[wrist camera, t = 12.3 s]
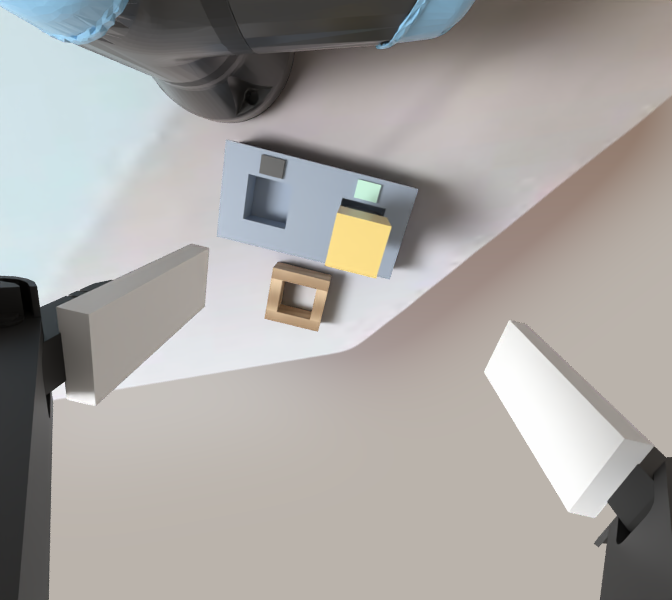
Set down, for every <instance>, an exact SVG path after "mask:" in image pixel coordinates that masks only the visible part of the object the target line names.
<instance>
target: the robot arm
mask: <svg viewBox="0 0 672 600" xmlns="http://www.w3.org/2000/svg"><path fill="white" fill-rule="evenodd" d="M474 2H475V0H0V6H1V7H2V8H4V9H6V10H7V11H9V12H11V13H13V14H14V15H16V16H18V17H20V18H21V19H23V20H25V21H27V22H28V23H30V24H32V25H34V26H35V27H37V28H39V29H40V30H41V31H42V32H44V33H47V34H48V35H50V36H51V37H53V38H55V39H58V40H60V41H62V42H68V43H73V44H76V45H78V46H81V47H83V48H85V49H88V50H90V51H93V52H95V53H97V54H100V55H102V56H105V57H107V58H109V59H112V60H114V61H117V62H119V63H121V64H124V65H126V66H129V67H131V68H133V69H136V70H138V71H141V72H143V73H145V74H148V75H150V76H152V77H153V78H154V80H155V81H156V82H157V84H158V85H159V86H160V88H161V89H162V90H163V91H164V92H165V93H166V94H167V95H168V96H169V97H170V98H171V99H172V100H173V101H174V102H176V103H177V104H178V105H180V106H181V107H182V108H184V109H185V110H187V111H189V112H191V113H193V114H195V115H197V116H200V117H203V118H206V119H209V120H212V121H216V122H223V123H235V122H241V121H245V120H248V119H251V118H253V117H255V116H257V115H259V114H260V113H262V112H263V111H265V110H266V109H267V108H268V107H269V106H270V105H271V104H272V103H273V102H274V101H275V100H276V99H277V97H278V96H279V95H280V93H281V91H282V90H283V88H284V86H285V84H286V82H287V80H288V77H289V74H290V71H291V68H292V64H293V58H294V51H308V50H321V49H335V48H349V47H362V46H376V48H377V49H386V48H390V47H391V46H393V45H395V44H396V43H403V42H411V41H419V40H427V39H433V38H436V37H438V36H441V35H443V34H445V33H446V32H448V31H449V30H450V29H451V28H452V27H453V26H454V25H455V24H456V23H457V22H459V21H460V20H461V19H462V18H463V17H464V16H465V14H466V13H467V12H468V10H469V9H470V8H471V6H472V5H473V3H474ZM208 257H209V248H207V247H203V246H199V245H194V244H190V245H187V246H185V247H183V248H181V249H179V250H177V251H175V252H173V253H170V254H168V255H166V256H164V257H162V258H160V259H158V260H155V261H153V262H151V263H149V264H147V265H145V266H143V267H140V268H138V269H136V270H134V271H132V272H130V273H128V274H125V275H123V276H121V277H119V278H117V279H115V280H108V281H104V282H99V283H94V284H92V285H89V286H87V287H85V288H83V289H80V291H76V292H74V293H71V294H69V296H65V297H62V298H60V299H58V300H56V301H53V302H51V303H49V304H47V305H44V306H42V307H40V305H39V297H38V290H37V285H36V284H35V282H33V281H31V280H29V279H26V278H21V277H14V276H0V600H49V561H50V514H51V469H52V424H53V423H52V422H53V398H52V391H53V390H54V389H55V388H57V387H58V386H59V385H61V384H62V383H63V382H65V387H66V396H67V400H71V401H76V402H80V403H85V404H89V405H94V406H96V405H97V404H98V403H99V402H101V400H103V399H104V398H105V397H106V396H107V395H108V394H109V393H110V392H112V391H113V390H114V389H115V388H116V387H117V386H118V385H119V384H120V383H121V382H122V381H124V380H125V379H126V378H127V377H128V376H129V375H130V374H131V373H132V372H133V371H135V370H136V369H137V368H138V367H139V366H140V365H141V364H142V363H143V362H144V361H145V360H147V359H148V358H149V357H150V356H151V355H152V354H153V353H154V352H155V351H156V350H158V349H159V348H160V347H161V346H162V345H163V344H164V343H165V342H166V341H167V340H168V339H170V338H171V337H172V336H173V335H174V334H175V333H176V332H177V331H178V330H179V329H181V328H182V327H183V326H184V325H185V324H186V323H187V322H188V321H189V320H190V319H191V318H193V317H194V316H195V315H196V314H197V313H198V312H199V311H200V310H201V309H202V308H204V307H205V296H206V283H207V270H208ZM484 373H485V375H486V376H487V378H488V380H489V381H490V383H491V384H492V386H493V388H494V389H495V391H496V393H497V394H498V396H499V398H500V399H501V401H502V403H503V404H504V406H505V408H506V409H507V411H508V412H509V414H510V416H511V417H512V419H513V421H514V423H515V424H516V426H517V428H518V429H519V431H520V433H521V434H522V436H523V438H524V439H525V441H526V442H527V444H528V446H529V447H530V449H531V451H532V452H533V454H534V456H535V457H536V459H537V461H538V462H539V464H540V466H541V467H542V469H543V470H544V472H545V474H546V476H547V477H548V479H549V480H550V482H551V484H552V486H553V487H554V489H555V490H556V492H557V494H558V496H559V497H560V499H561V500H562V502H563V504H564V505H565V507H566V509H567V510H568V512H570V513H574V514H579V515H583V516H588V517H592V518H595V517H596V516H597V515H598V514H599V513H600V511H601V510H602V509H603V508H604V507H605V505H606V504H607V503H609V505H610V506H611V508H612V509H613V510H614V512H615V513H616V514H617V517H616V518H615V519H614V520H613V521H612V522H611V523H610V525H609V526H608V527H607V528H606V529H605V530H604V532H603V533H602V534H601V535H600V536H599V537H598V539H597V540H596V541H595V543H594V544H595V545H597V546H598V547H599V546H600V545H601V544H602V543H607V547H606V556H605V563H604V571H603V580H602V588H601V597H600V600H672V457H667V458H666V457H665V456H664V455H663V454H662V453H661V452H660V451H659V450H658V449H657V448H655V447H654V445H653V444H652V443H651V442H650V441H649V440H648V439H647V438H646V437H645V436H644V435H643V434H642V433H641V432H640V431H639V430H638V429H637V428H635V427H634V426H633V425H632V424H631V423H630V422H629V421H628V420H627V419H626V418H625V417H624V416H623V415H622V414H621V413H620V412H619V411H617V410H616V409H615V408H614V407H613V406H612V405H611V404H610V403H609V402H608V401H607V400H606V399H605V398H604V397H603V396H602V395H601V394H600V393H599V392H597V390H595V389H594V388H593V387H592V386H591V385H590V384H589V383H588V382H587V381H586V380H585V379H584V378H583V377H582V376H581V375H579V374H578V372H576V371H575V370H574V369H573V368H572V367H571V366H570V365H569V364H568V363H567V362H566V361H565V360H564V359H563V358H562V357H561V356H560V355H559V354H558V353H557V352H555V351H554V350H553V349H552V348H551V347H550V346H549V345H548V344H547V343H546V342H545V341H544V340H543V339H542V338H541V337H540V336H539V335H537V334H536V333H535V332H534V331H533V330H532V329H531V328H530V327H529V326H528V325H527V324H525V323H520V322H516V321H512V320H509V322H508V324H507V326H506V328H505V330H504V332H503V334H502V336H501V338H500V340H499V342H498V344H497V346H496V348H495V350H494V353H493V354H492V356H491V359H490V361H489V363H488V365H487V367H486V369H485V371H484Z"/></svg>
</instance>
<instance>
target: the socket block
mask: <svg viewBox="0 0 672 600" xmlns="http://www.w3.org/2000/svg"><path fill="white" fill-rule="evenodd" d="M417 192H418V189H416V188H414V187H411V186H407V185H403V184H399V183H395V182H391V181H388V180H384V179H380V178H376V177H372V176H368V175H364V174H360V173H357V172H353V171H349V170H345V169H341V168H337V167H333V166H329V165H326V164H322V163H318V162H314V161H310V160H306V159H302V158H298V157H295V156H291V155H287V154H283V153H279V152H275V151H271V150H267V149H264V148H260V147H256V146H252V145H248V144H244V143H240V142H235V141H230V140H226V146H225V156H224V166H223V177H222V187H221V198H220V208H219V219H218V229H217V237H221V238H225V239H229V240H233V241H237V242H241V243H245V244H249V245H253V246H257V247H261V248H265V249H269V250H273V251H277V252H281V253H285V254H289V255H293V256H298V257H302V258H306V259H310V260H314V261H318V262H322V263H325V262H326V258H327V253H328V249H329V245H330V240H331V236H332V232H333V228H334V223H335V219H336V215H337V212H338V209H339V207H340V206H344V207H346V205H347V204H348V205H352V206H356V207H360V208H364V209H367V210H371V211H375V212H377V214H378V215H379V216H383V217H387V219H388V221H389V223H390V224H391V226H392V227H391V231H390V234H389V237H388V240H387V244H386V247H385V250H384V254H383V257H382V260H381V264H380V267H379V270H378V274H377V276H378V277H382V278H386V279H390V277H391V274H392V270H393V267H394V264H395V261H396V258H397V255H398V252H399V249H400V245H401V242H402V239H403V236H404V233H405V230H406V227H407V224H408V220H409V217H410V214H411V211H412V208H413V205H414V202H415V199H416V195H417Z"/></svg>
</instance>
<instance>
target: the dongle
mask: <svg viewBox="0 0 672 600" xmlns="http://www.w3.org/2000/svg"><path fill="white" fill-rule="evenodd" d="M391 227H392V226H391V224H390V223H389V221H388V219H387V217H383V216H379V215H378V214H377V212H375V211H371V210H367V209H364V208H360V207H356V206H352V205H348V204H347V205H346V207H344V206H340V207H339V209H338V212H337V215H336V219H335V223H334V228H333V232H332V236H331V240H330V245H329V249H328V253H327V258H326V262H325V266H328V267H332V268H336V269H340V270H344V271H348V272H352V273H356V274H360V275H364V276H368V277H372V278H376V277H377V274H378V270H379V267H380V264H381V260H382V257H383V254H384V250H385V247H386V244H387V240H388V237H389V234H390V231H391Z"/></svg>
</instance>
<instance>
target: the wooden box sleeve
mask: <svg viewBox="0 0 672 600" xmlns="http://www.w3.org/2000/svg"><path fill="white" fill-rule="evenodd" d="M331 276H332V275H329V274H325V273H321V272H317V271H313V270H309V269H305V268H301V267H297V266H293V265H289V264H285V263H281V262H277V264H276V265H275V266H274V267H273V272H272V278H271V284H270V290H269V296H268V302H267V307H266V313H265V319H268V320H272V321H277V322H281V323H285V324H289V325H293V326H297V327H301V328H305V329H310V330H314V331H318V329H319V325H320V321H321V317H322V313H323V309H324V305H325V301H326V297H327V293H328V289H329V284H330V280H331ZM285 281H286V282H290V283H294V284H298V285H303V286H307V287H311V288H315V289H317V291H316V295H315V299H314V304H313V308H312V312H311V311H307V310H303V309H299V308H295V307H291V306H287V305H283V304H281V301H282V296H283V291H284V286H285Z"/></svg>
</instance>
